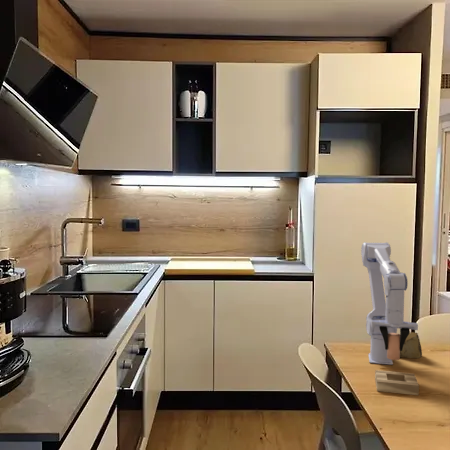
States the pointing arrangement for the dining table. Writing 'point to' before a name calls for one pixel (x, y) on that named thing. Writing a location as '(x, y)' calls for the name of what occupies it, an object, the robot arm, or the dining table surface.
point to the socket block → (396, 382)
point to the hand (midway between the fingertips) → (393, 349)
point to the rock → (411, 346)
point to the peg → (393, 346)
